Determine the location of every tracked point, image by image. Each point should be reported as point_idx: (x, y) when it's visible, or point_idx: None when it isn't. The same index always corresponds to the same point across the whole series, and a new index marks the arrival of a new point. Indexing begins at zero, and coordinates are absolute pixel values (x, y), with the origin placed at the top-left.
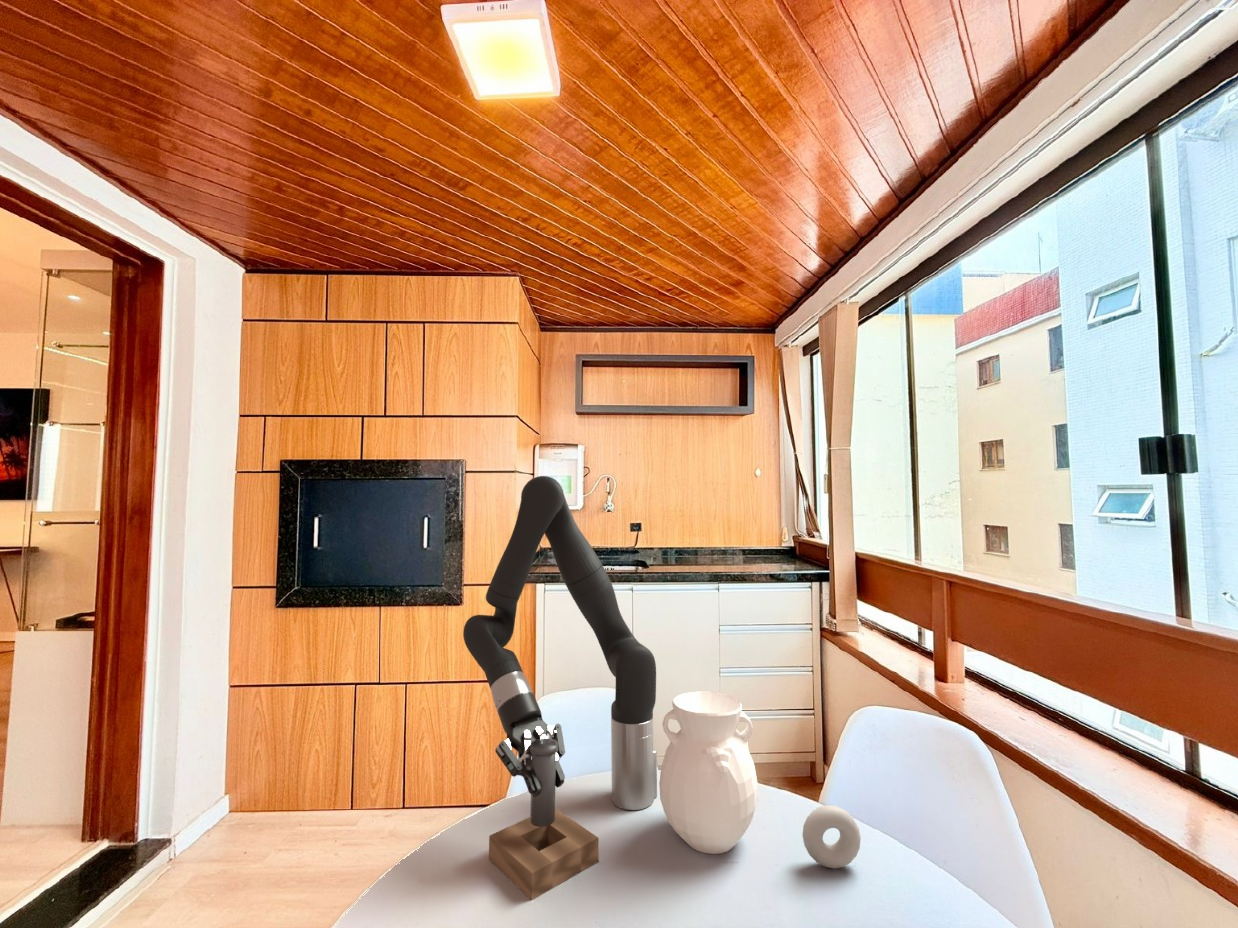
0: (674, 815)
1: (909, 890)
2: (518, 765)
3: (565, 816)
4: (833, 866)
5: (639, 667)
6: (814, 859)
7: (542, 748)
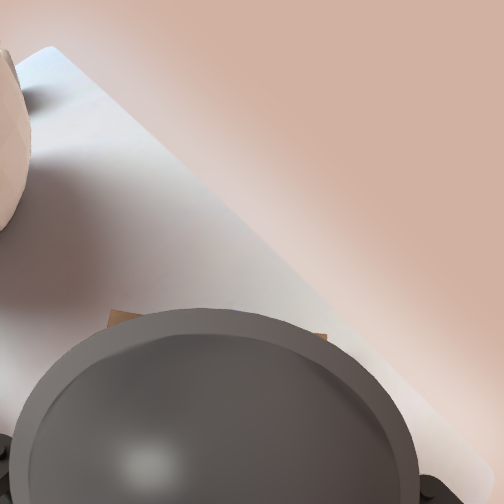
0: (14, 172)
1: (33, 68)
2: (435, 491)
3: None
4: None
5: None
6: None
7: (334, 410)
